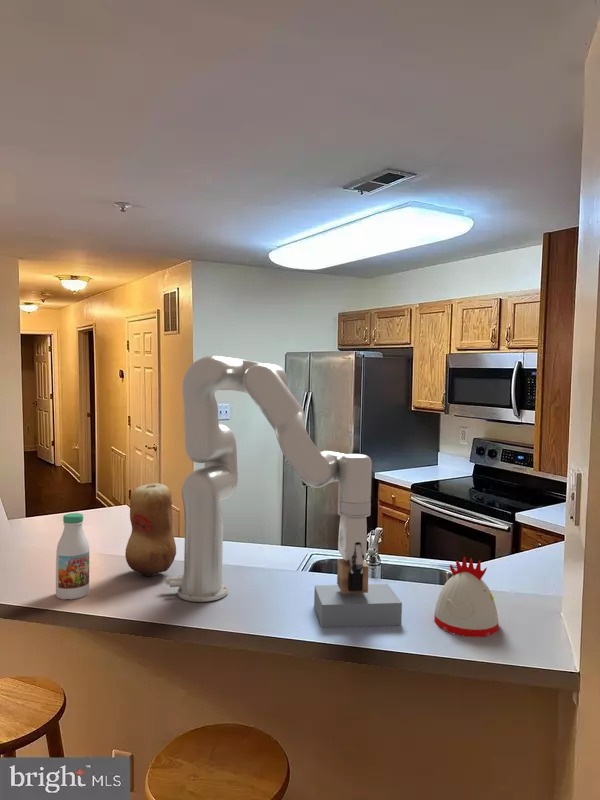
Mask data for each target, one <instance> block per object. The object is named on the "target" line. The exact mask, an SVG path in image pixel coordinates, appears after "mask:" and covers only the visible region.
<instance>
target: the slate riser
mask: <svg viewBox="0 0 600 800" xmlns="http://www.w3.org/2000/svg"><path fill="white" fill-rule="evenodd" d="M313 591H314V599H313V606H314V610H315V612H316V615H317V618H318V621H319V624H320V626H321V628H344V627H345V628H346V627H347V628H348V627H349V628H350V627H376V626H377V627H378V626H383V627H384V626H386V625H387V626H402V619H403V618H402V617H403V614H402V613H403V612H402V610H403V602H402V601H401V599H399V597H398V596H397V594H396V593H395V592H394V591H393V589H392V587H390V586H389V584H388V583H380V584H379V583H378V584H376V583H375V584H374V583H368V593H342V592H341V590H340V588H339V587H338V585H337V584H333V585H332V584H330V585H329V584H328V585H325V584H324V585H322V584H321V585H319V584H318V585H314V590H313Z"/></svg>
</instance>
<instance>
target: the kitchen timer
mask: <svg viewBox="0 0 600 800" xmlns="http://www.w3.org/2000/svg"><path fill="white" fill-rule="evenodd" d="M467 563H468V562H467V560H466V557H465V556H463V558H462V562H461V563H460V561H459V560H456V561H455V564H456V569H455V568H454V566H453V564H450V565H449V568H450V569H449V570H450V572H451V573H452V576H451V577H450V578H449V579H448V580H447V581H446V582H445V584H444V585H443V586H442V587H441V590H440V592H439V595H438V598H437V601H436V604H435V609H434V621H433V622H434V623H435V624H436V626H437V625H438V627H439V628H440V629H441V630H443V631H445V630H446V632H447V631H448V633H450V632H451V634H453V633H455V634H454V635H457V634H458V636H462V635H464V636H463V637H468V636H471V637H472V638H483V637H484V636H485V637H489V636H493V635H494V634H496V633H497V632H498V631H499V615H498V609H497V607H496V606H497V605H496V602H495V598H494V596H493V593H492V592H491V590H490V588H489V587H488V585H487V583H486V582H485V581H484V580H483V579H482V578H483V576H484V575H485V573H486V571H487V568H488V567H487V566H486V567H485V568H484V569H483V570H481V569H482V567H481V563H482V561H481V560H479V561H478V562H477V565H476V567H474V562H473V559H472V557H471V558H470V559H469V563H468V564H467ZM495 632H496V633H495ZM493 633H494V634H493ZM488 635H489V636H488ZM471 637H470V638H471Z"/></svg>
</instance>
